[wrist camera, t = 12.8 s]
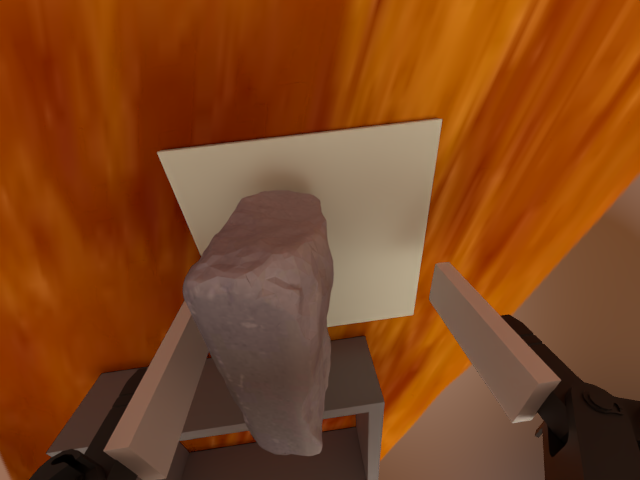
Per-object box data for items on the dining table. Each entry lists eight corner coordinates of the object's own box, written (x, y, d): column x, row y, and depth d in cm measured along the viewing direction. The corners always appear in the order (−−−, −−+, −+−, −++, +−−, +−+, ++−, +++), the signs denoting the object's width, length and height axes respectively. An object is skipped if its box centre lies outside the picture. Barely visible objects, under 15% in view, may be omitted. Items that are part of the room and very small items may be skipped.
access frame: (183, 457, 33) (163, 523, 28) (101, 373, 23) (45, 453, 18) (364, 429, 34) (377, 488, 29) (364, 336, 24) (384, 402, 19)
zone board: (237, 334, 22) (236, 339, 21) (162, 150, 14) (156, 152, 13) (410, 310, 22) (413, 314, 22) (436, 118, 14) (442, 119, 14)
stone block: (235, 177, 14) (147, 297, 6) (316, 171, 15) (348, 277, 6) (268, 317, 20) (248, 476, 12) (324, 311, 21) (346, 463, 12)
